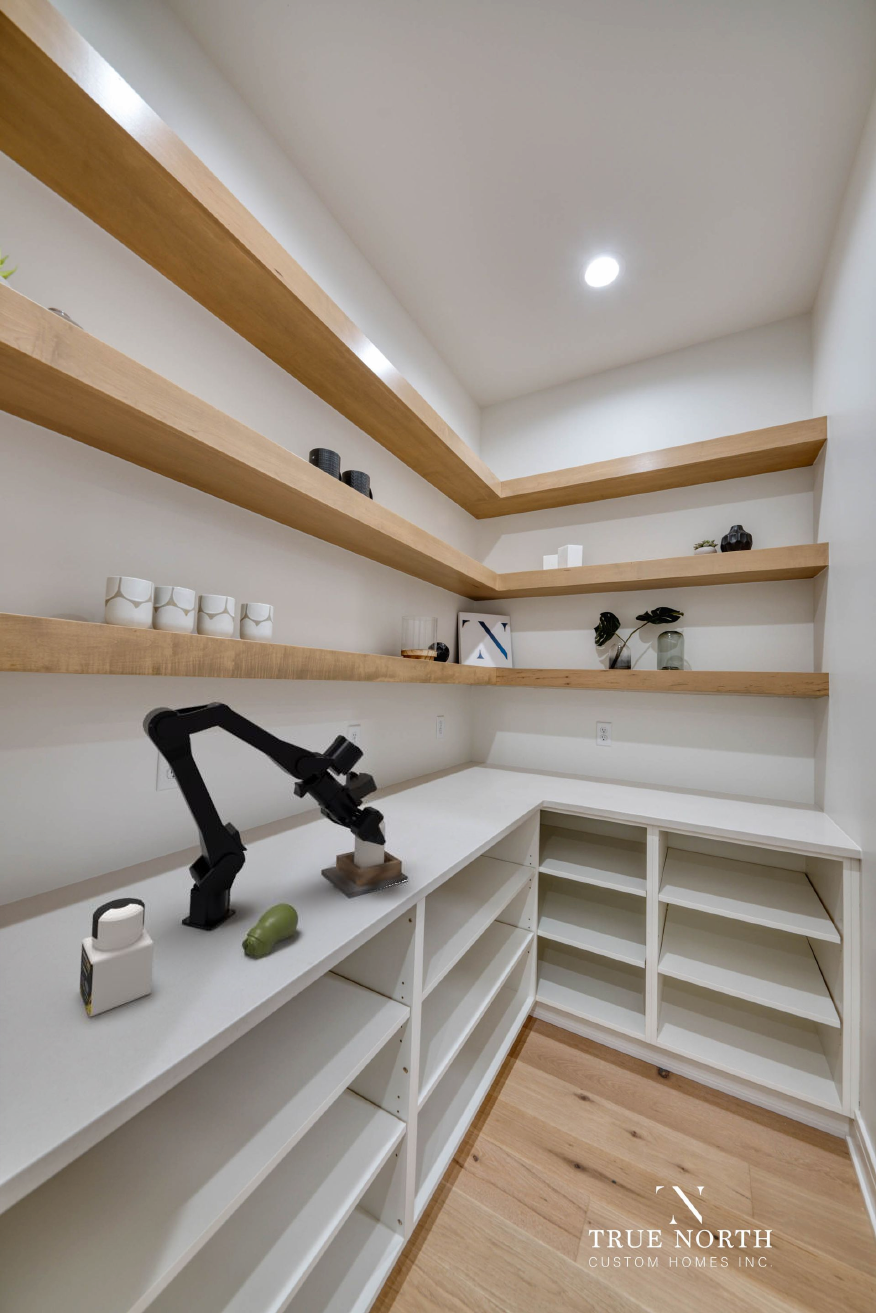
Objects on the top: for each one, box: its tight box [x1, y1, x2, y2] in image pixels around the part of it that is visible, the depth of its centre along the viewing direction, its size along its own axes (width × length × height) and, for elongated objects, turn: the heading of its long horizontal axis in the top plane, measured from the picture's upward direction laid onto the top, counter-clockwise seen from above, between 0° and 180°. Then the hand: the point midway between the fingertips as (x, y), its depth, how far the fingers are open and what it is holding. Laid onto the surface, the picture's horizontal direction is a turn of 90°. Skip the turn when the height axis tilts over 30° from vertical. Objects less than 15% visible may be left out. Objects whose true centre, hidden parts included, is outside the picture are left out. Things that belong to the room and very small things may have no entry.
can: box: [353, 819, 386, 869], centre depth 106 cm, size 6×6×12 cm
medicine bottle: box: [79, 897, 154, 1017], centre depth 67 cm, size 7×7×12 cm
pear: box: [241, 902, 299, 959], centre depth 80 cm, size 6×5×10 cm
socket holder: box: [320, 850, 409, 899], centre depth 106 cm, size 14×13×4 cm
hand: (373, 836), depth 107 cm, fingers open, 9 cm apart
